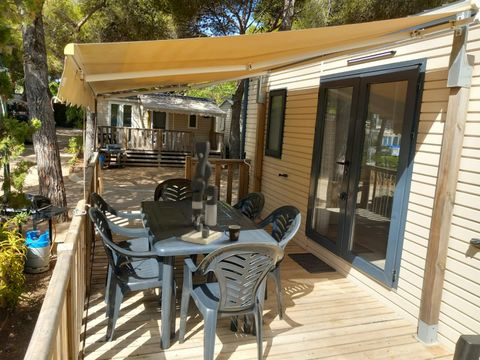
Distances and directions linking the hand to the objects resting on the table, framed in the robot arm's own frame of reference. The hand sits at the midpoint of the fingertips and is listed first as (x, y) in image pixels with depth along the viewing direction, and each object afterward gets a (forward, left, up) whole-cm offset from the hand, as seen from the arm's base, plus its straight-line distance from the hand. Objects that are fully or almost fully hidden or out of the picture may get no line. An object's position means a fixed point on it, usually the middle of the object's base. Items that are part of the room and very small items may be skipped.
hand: (196, 230), depth 282 cm
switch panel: (+2, +6, -5) cm, 8 cm away
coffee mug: (-5, +27, -5) cm, 28 cm away
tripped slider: (-5, 0, -1) cm, 5 cm away
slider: (+8, +12, -1) cm, 14 cm away
